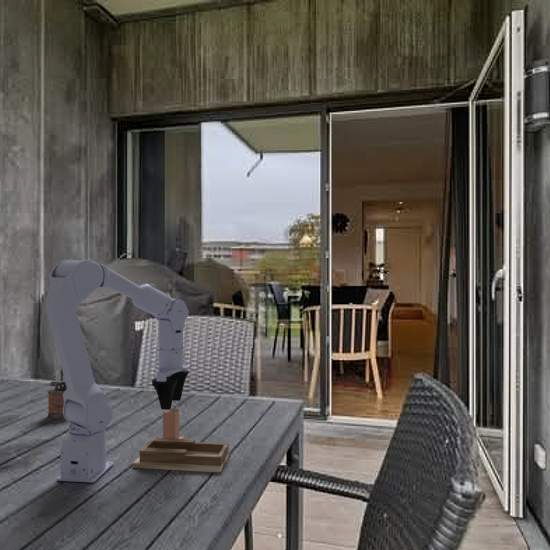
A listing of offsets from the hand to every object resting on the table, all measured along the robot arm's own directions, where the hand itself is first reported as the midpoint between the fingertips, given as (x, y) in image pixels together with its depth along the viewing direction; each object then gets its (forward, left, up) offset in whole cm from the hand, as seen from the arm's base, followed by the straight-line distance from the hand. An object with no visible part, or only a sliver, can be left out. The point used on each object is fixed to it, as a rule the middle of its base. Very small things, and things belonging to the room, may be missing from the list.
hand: (171, 404), depth 124 cm
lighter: (+17, +37, -10) cm, 42 cm away
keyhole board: (-10, -6, -9) cm, 15 cm away
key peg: (0, 0, -10) cm, 10 cm away
